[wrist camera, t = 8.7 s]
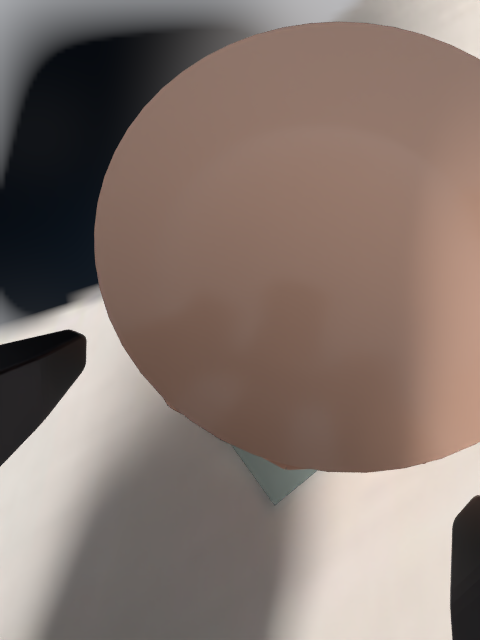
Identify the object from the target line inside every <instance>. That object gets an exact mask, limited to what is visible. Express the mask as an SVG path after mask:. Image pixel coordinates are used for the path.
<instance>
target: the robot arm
mask: <svg viewBox="0 0 480 640" xmlns="http://www.w3.org/2000/svg"><path fill="white" fill-rule="evenodd" d="M85 364H86V337H85V336H84V335H83V334H80V333H78V332H75V331H73V330H63V331H59V332H55V333H50V334H46V335H41V336H37V337H33V338H28V339H24V340H20V341H15V342H11V343H6V344H2V345H0V466H1V465H2V464H3V463H4V462H5V461H6V460H7V459H8V458H9V457H10V456H11V455H12V454H13V453H14V452H15V451H16V450H17V449H18V448H19V446H20V445H21V444H22V443H23V442H24V441H25V440H26V439H27V438H28V437H29V436H30V435H31V434H32V433H33V432H34V431H35V430H36V429H37V428H38V427H39V425H40V424H41V423H42V422H43V421H44V420H45V419H46V417H47V416H48V415H49V414H50V413H51V411H52V410H53V409H54V407H55V406H56V405H57V404H58V402H59V401H60V400H61V398H62V397H63V396H64V395H65V393H66V392H67V391H68V389H69V388H70V387H71V386H72V384H73V383H74V382H75V380H76V379H77V378H78V377H79V375H80V374H81V373H82V371H83V369H84V367H85ZM450 609H451V625H452V638H453V640H480V495H477V496H475V497H473V498H472V499H471V500H470V502H469V503H468V504H467V505H466V506H465V507H464V508H463V510H462V511H461V512H460V513H459V514H458V515H457V517H456V518H455V520H454V523H453V528H452V556H451V587H450Z"/></svg>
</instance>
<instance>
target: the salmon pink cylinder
mask: <svg viewBox="0 0 480 640" xmlns="http://www.w3.org/2000/svg"><path fill="white" fill-rule="evenodd" d="M94 237H95V263H96V269H97V275H98V281H99V287H100V291H101V294H102V297H103V300H104V304H105V307H106V310H107V313H108V316H109V319H110V321H111V323H112V325H113V327H114V329H115V331H116V333H117V335H118V337H119V339H120V342H121V344H122V346H123V347H124V349H125V350H126V352H127V353H128V355H129V356H130V358H131V359H132V361H133V362H134V364H135V365H136V366H137V368H138V369H139V371H140V372H141V374H142V375H143V376H144V377H145V378H146V379H147V380H148V381H149V383H150V384H151V385H152V386H153V387H154V388H155V389H156V390H157V391H158V393H159V394H160V395H161V396H162V397H163V398H164V400H165V402H166V403H167V405H168V406H169V407H170V408H171V409H173V410H175V411H177V412H179V413H181V414H183V415H184V416H185V417H187V418H188V419H189V420H190V421H192V422H193V423H195V424H197V425H198V426H200V427H201V428H203V429H205V430H206V431H208V432H209V433H211V434H212V435H214V436H216V437H217V438H219V439H220V440H223V441H225V442H227V443H229V444H231V445H234V446H236V447H238V448H240V449H242V450H244V451H247V452H249V453H251V454H253V455H256V456H260V457H262V458H264V459H266V460H268V461H269V462H271V463H273V464H275V465H277V466H279V467H281V468H282V469H284V470H285V468H286V470H298V469H314V470H320V471H326V472H361V473H367V472H376V471H385V470H393V469H402V468H407V467H411V466H415V465H419V464H425V463H427V462H430V461H434V460H438V459H442V458H444V457H446V456H449V455H451V454H453V453H456V452H458V451H460V450H463V449H465V448H468V447H470V446H472V445H475V444H477V443H478V442H480V60H479V59H478V58H476V57H474V56H472V55H470V54H468V53H466V52H464V51H462V50H460V49H458V48H456V47H454V46H452V45H450V44H447V43H444V42H442V41H439V40H436V39H434V38H431V37H428V36H425V35H423V34H419V33H415V32H411V31H407V30H403V29H399V28H395V27H389V26H382V25H376V24H369V23H353V22H325V23H309V24H302V25H296V26H289V27H284V28H279V29H275V30H271V31H267V32H264V33H260V34H256V35H253V36H251V37H248V38H245V39H243V40H240V41H238V42H235V43H232V44H230V45H228V46H226V47H224V48H222V49H220V50H218V51H216V52H214V53H212V54H210V55H208V56H206V57H204V58H203V59H201V60H200V61H198V62H197V63H195V64H193V65H192V66H190V67H189V68H187V69H186V70H184V71H183V72H182V73H181V74H179V75H178V76H177V77H176V78H175V79H173V80H172V81H171V82H170V83H168V84H167V85H166V86H165V87H163V88H162V89H161V90H160V91H159V92H158V93H157V95H156V96H155V97H154V98H153V99H152V100H151V101H150V102H149V103H148V104H147V105H146V106H145V107H144V108H143V110H142V111H141V112H140V114H139V115H138V116H137V118H136V119H135V120H134V122H133V123H132V124H131V126H130V127H129V128H128V130H127V132H126V133H125V135H124V137H123V139H122V140H121V142H120V144H119V146H118V147H117V149H116V151H115V153H114V155H113V158H112V160H111V162H110V165H109V167H108V170H107V172H106V175H105V177H104V181H103V185H102V188H101V192H100V196H99V200H98V204H97V213H96V221H95V229H94Z"/></svg>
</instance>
